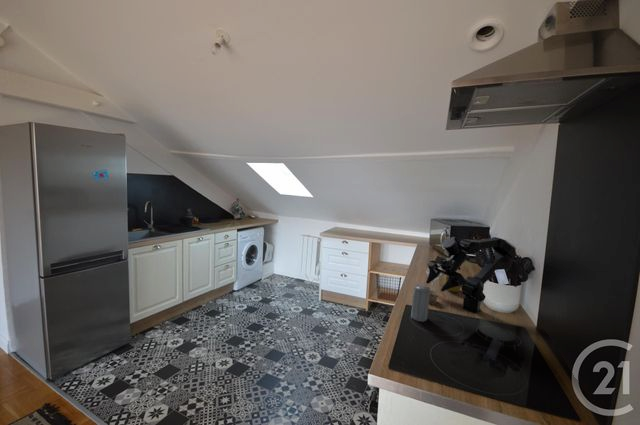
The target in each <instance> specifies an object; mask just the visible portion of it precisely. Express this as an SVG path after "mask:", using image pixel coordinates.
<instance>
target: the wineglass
mask: <svg viewBox="0 0 640 425" xmlns="http://www.w3.org/2000/svg"><path fill="white" fill-rule="evenodd" d="M434 261H435V260H429V262H434ZM434 263H436V264H437V265H438V266H439V265H440V264H439V263H437V262H434ZM439 267H440V266H439ZM440 268H441V267H440ZM425 272H426V275H427V277H428V276H429V272H430V271H429V268H428V266H426V271H425ZM442 276H443V274H442V273H440V274H438V277H436V278H435V279H434V280H433V281H431V289H430V290H431V291H434V285H435V282H436V281H437V280H439V279H440V278H442ZM438 296H439V294H438V293H437V297H438Z"/></svg>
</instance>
